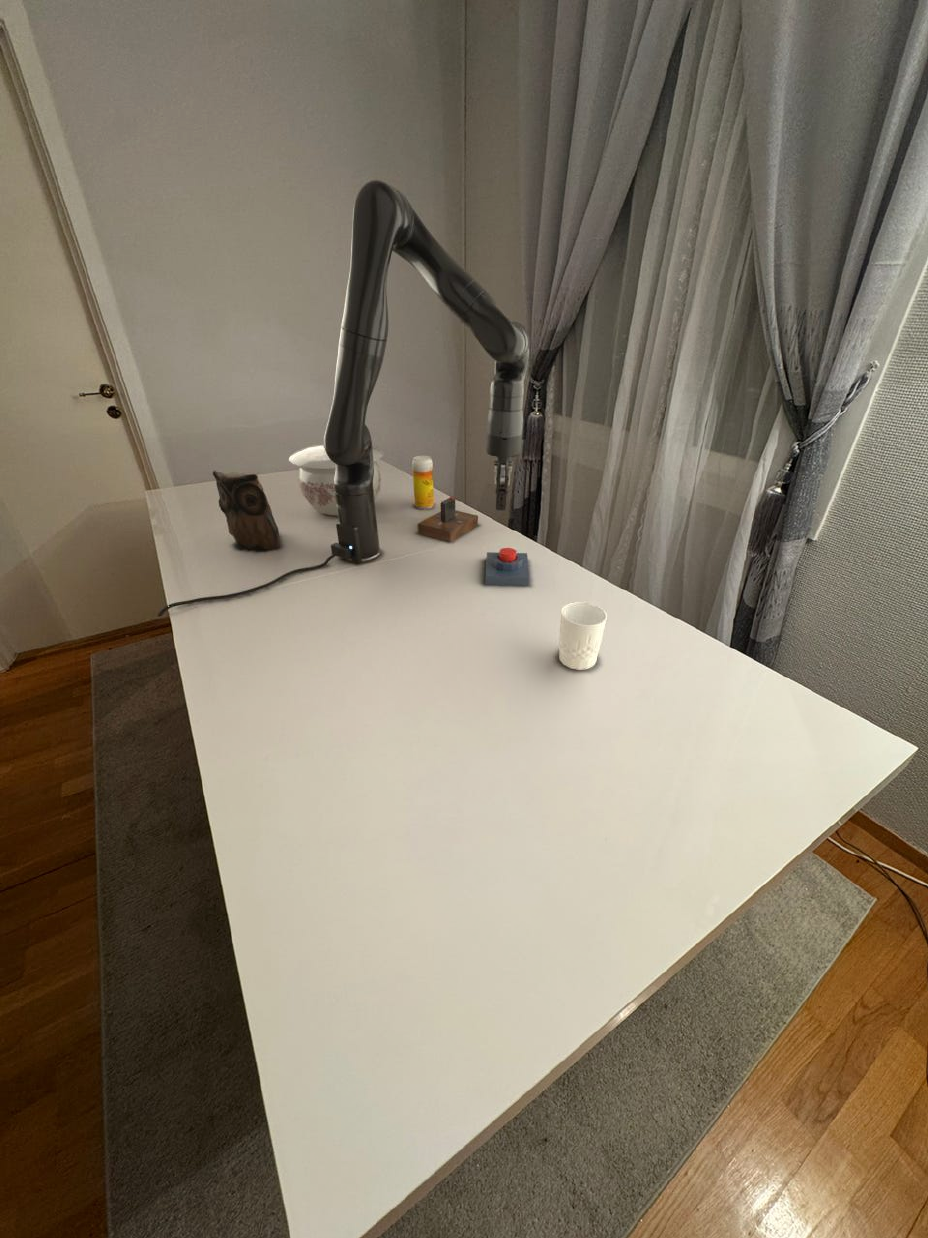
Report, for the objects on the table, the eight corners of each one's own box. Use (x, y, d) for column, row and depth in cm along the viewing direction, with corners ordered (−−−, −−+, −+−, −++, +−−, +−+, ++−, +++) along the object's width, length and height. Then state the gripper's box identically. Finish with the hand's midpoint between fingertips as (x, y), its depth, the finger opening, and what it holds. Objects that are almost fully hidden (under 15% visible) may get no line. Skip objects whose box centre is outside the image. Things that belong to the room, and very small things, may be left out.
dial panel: (450, 542, 140) (450, 531, 138) (418, 533, 145) (417, 522, 143) (477, 525, 150) (478, 515, 148) (446, 517, 155) (446, 507, 153)
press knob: (516, 563, 121) (516, 555, 120) (499, 562, 121) (499, 554, 120) (515, 555, 125) (516, 547, 124) (499, 555, 125) (499, 547, 124)
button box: (528, 586, 119) (529, 570, 117) (485, 584, 120) (485, 569, 118) (526, 561, 130) (527, 546, 128) (486, 560, 131) (487, 545, 129)
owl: (283, 549, 136) (267, 474, 125) (232, 558, 132) (210, 481, 121) (276, 532, 146) (261, 460, 135) (229, 540, 142) (209, 466, 131)
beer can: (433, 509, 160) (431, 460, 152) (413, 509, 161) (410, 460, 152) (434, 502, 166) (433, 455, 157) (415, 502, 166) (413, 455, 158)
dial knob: (445, 522, 144) (445, 502, 141) (440, 521, 144) (440, 501, 141) (455, 516, 147) (455, 497, 144) (451, 515, 148) (450, 496, 145)
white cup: (601, 651, 98) (609, 606, 92) (596, 676, 92) (604, 629, 86) (559, 643, 100) (565, 598, 95) (552, 667, 94) (557, 621, 88)
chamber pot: (381, 525, 150) (374, 452, 139) (287, 525, 150) (272, 452, 139) (393, 493, 173) (388, 428, 162) (312, 492, 174) (301, 428, 163)
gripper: (488, 423, 115) (485, 498, 125) (485, 437, 104) (483, 519, 114) (521, 424, 115) (516, 499, 124) (523, 439, 104) (517, 520, 113)
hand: (500, 509), depth 119 cm, fingers closed
